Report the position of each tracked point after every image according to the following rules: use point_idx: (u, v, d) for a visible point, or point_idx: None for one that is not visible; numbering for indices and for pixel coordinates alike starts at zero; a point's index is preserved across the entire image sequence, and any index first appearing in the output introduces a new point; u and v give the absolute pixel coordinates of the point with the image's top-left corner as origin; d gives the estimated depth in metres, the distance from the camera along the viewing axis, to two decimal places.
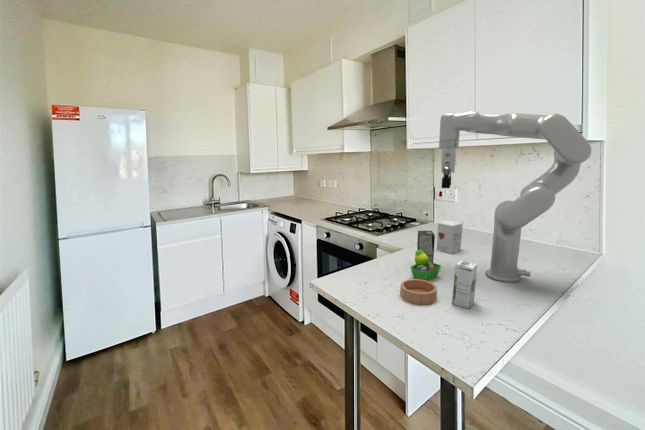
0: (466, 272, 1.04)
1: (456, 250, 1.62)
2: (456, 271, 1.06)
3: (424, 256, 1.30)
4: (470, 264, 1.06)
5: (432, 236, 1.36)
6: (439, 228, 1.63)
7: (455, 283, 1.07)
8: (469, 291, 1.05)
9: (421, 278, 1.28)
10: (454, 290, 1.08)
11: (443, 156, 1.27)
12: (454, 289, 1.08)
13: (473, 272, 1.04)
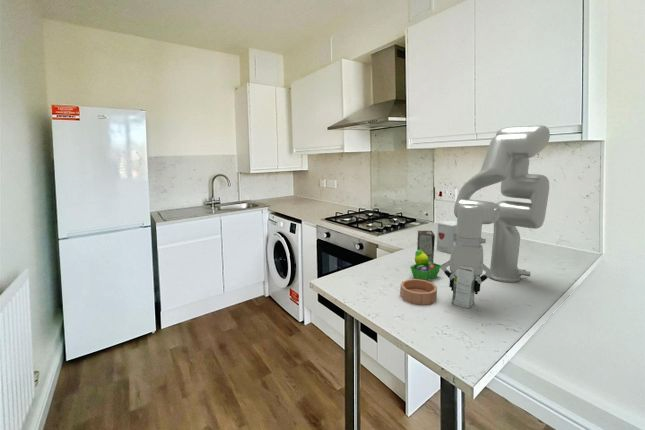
0: (466, 272, 1.04)
1: None
2: (456, 271, 1.06)
3: (424, 256, 1.30)
4: None
5: (432, 236, 1.36)
6: (439, 228, 1.63)
7: (455, 283, 1.07)
8: (469, 291, 1.05)
9: (421, 278, 1.28)
10: (454, 290, 1.08)
11: (482, 256, 1.03)
12: (454, 289, 1.08)
13: (473, 272, 1.04)
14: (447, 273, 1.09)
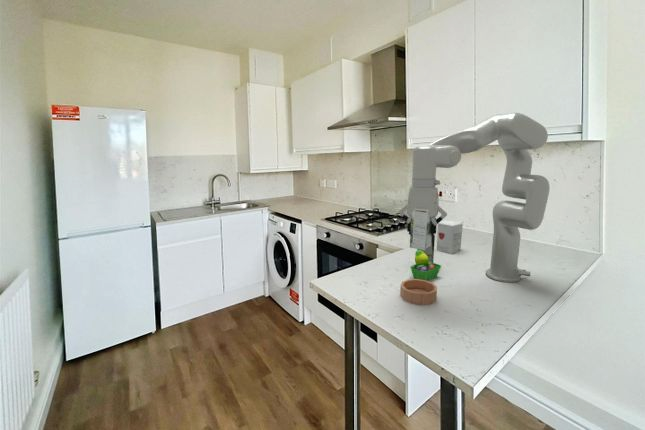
0: (421, 214, 1.06)
1: (456, 250, 1.62)
2: (412, 214, 1.08)
3: (424, 256, 1.30)
4: None
5: None
6: (439, 228, 1.63)
7: (412, 226, 1.09)
8: (425, 233, 1.07)
9: (421, 278, 1.28)
10: (411, 233, 1.10)
11: (436, 197, 1.05)
12: (411, 232, 1.10)
13: (428, 213, 1.06)
14: (405, 217, 1.11)
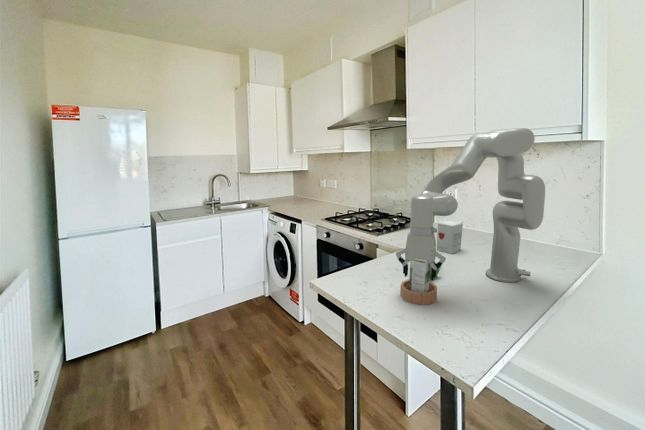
0: (420, 264, 1.10)
1: (456, 250, 1.62)
2: (411, 263, 1.12)
3: None
4: None
5: None
6: (439, 228, 1.63)
7: (411, 275, 1.13)
8: (423, 282, 1.10)
9: None
10: (410, 281, 1.13)
11: (434, 245, 1.08)
12: (410, 281, 1.13)
13: (426, 264, 1.10)
14: (401, 260, 1.14)
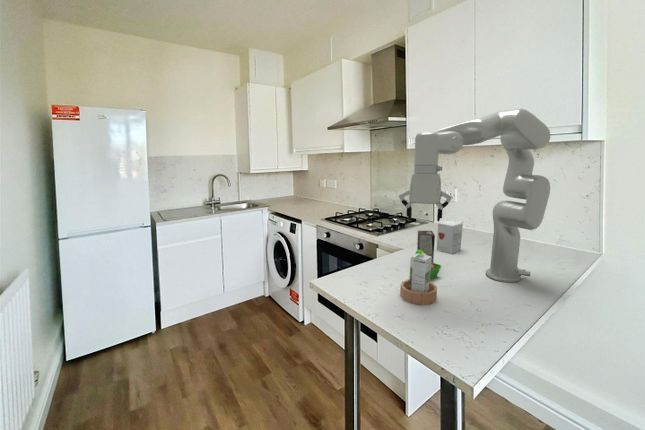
0: (420, 264, 1.10)
1: (456, 250, 1.62)
2: (411, 263, 1.12)
3: None
4: (424, 256, 1.12)
5: (432, 236, 1.36)
6: (439, 228, 1.63)
7: (411, 275, 1.13)
8: (423, 282, 1.10)
9: None
10: (410, 281, 1.13)
11: (439, 184, 1.05)
12: (410, 281, 1.13)
13: (427, 264, 1.10)
14: (404, 202, 1.11)
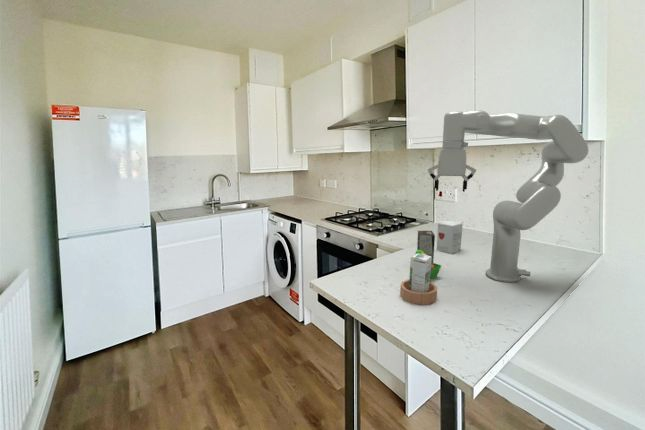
0: (420, 264, 1.10)
1: (456, 250, 1.62)
2: (411, 263, 1.12)
3: None
4: (424, 256, 1.12)
5: (432, 236, 1.36)
6: (439, 228, 1.63)
7: (411, 275, 1.13)
8: (423, 282, 1.10)
9: None
10: (410, 281, 1.13)
11: (465, 157, 1.18)
12: (410, 281, 1.13)
13: (427, 264, 1.10)
14: (432, 175, 1.24)
